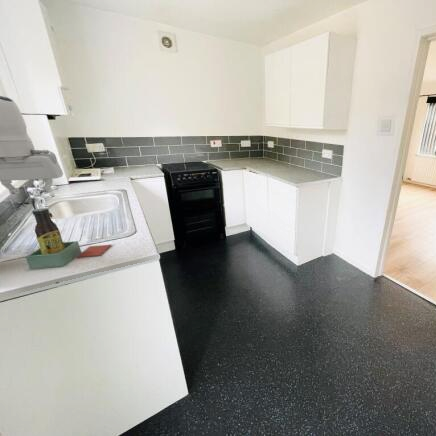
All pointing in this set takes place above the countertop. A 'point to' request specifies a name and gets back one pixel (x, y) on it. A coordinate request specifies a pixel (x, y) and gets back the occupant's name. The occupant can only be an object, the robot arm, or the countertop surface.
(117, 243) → the countertop surface
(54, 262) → the green open tray
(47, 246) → the sauce bottle
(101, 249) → the drying mat
